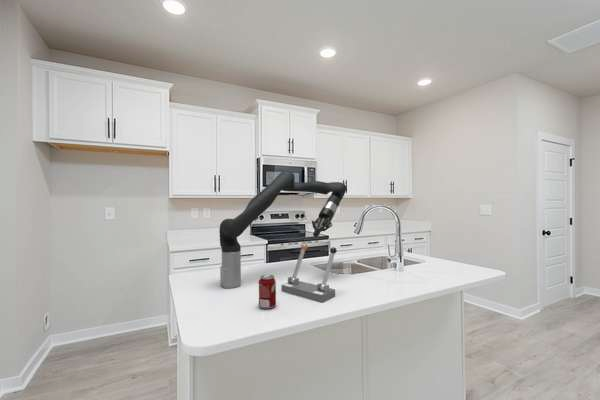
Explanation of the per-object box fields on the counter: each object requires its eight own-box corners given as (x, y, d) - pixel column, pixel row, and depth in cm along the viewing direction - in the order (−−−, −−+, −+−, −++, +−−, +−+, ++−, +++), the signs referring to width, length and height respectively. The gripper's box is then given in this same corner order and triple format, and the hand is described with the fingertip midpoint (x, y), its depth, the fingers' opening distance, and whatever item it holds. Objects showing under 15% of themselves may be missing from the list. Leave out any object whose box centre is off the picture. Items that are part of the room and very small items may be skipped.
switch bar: (295, 286, 138) (295, 274, 138) (335, 296, 124) (335, 283, 124) (281, 291, 131) (281, 279, 130) (322, 302, 116) (322, 288, 116)
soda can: (268, 311, 108) (268, 279, 108) (255, 307, 111) (255, 277, 111) (279, 305, 113) (279, 275, 113) (266, 302, 117) (265, 273, 117)
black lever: (321, 290, 123) (333, 248, 131) (326, 291, 121) (338, 249, 129) (317, 288, 121) (329, 245, 129) (323, 289, 119) (335, 246, 127)
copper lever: (291, 283, 134) (304, 244, 142) (296, 284, 132) (309, 245, 140) (288, 281, 132) (301, 242, 140) (293, 282, 130) (305, 243, 138)
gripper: (341, 216, 152) (328, 241, 143) (321, 215, 161) (308, 239, 151) (335, 207, 148) (322, 232, 139) (315, 206, 157) (301, 230, 147)
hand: (314, 236), depth 145 cm, fingers closed
